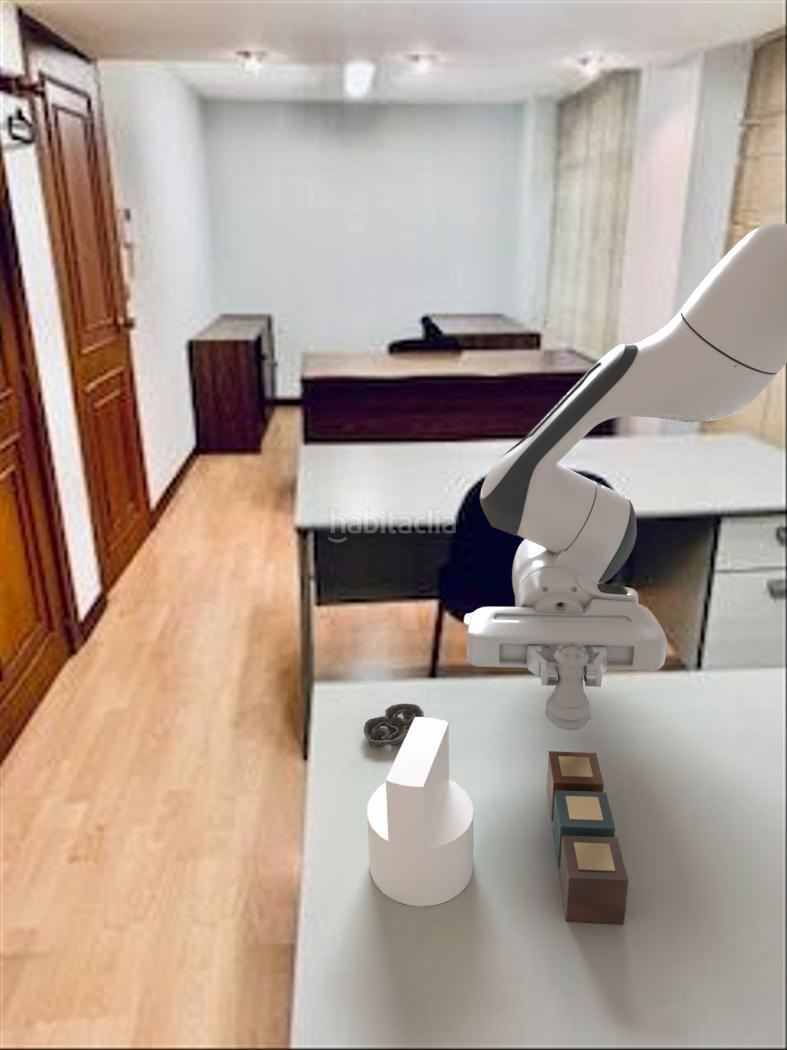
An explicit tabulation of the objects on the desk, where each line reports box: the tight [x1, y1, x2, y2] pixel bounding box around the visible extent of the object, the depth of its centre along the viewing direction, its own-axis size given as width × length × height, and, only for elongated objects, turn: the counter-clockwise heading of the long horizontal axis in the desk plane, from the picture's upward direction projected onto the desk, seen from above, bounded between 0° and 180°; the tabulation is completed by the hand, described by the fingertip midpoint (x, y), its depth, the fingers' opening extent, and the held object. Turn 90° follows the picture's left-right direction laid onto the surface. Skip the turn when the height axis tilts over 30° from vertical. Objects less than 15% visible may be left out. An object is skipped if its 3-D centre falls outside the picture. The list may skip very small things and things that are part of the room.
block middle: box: [552, 790, 616, 869], centre depth 66 cm, size 4×4×5 cm
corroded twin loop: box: [363, 703, 425, 746], centre depth 84 cm, size 5×8×1 cm, turn 139°
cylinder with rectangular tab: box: [366, 716, 475, 908], centre depth 64 cm, size 9×9×12 cm
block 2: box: [559, 836, 629, 925], centre depth 61 cm, size 4×4×5 cm
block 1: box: [546, 750, 605, 823], centre depth 71 cm, size 4×4×5 cm
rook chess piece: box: [545, 641, 592, 731], centre depth 74 cm, size 4×4×8 cm
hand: (572, 680), depth 73 cm, fingers closed on rook chess piece, 3 cm apart
